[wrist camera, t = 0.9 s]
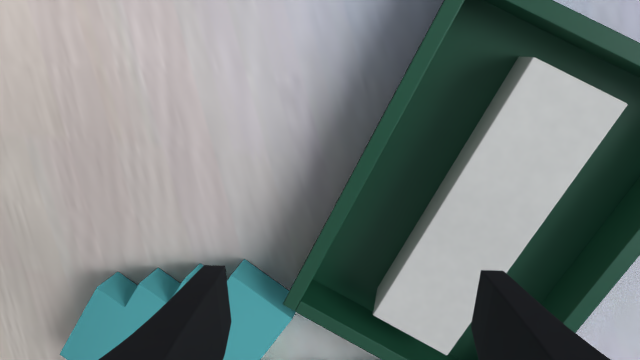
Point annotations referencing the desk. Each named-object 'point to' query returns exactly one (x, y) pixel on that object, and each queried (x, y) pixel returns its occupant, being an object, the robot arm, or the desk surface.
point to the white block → (494, 198)
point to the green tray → (443, 149)
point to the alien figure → (157, 289)
